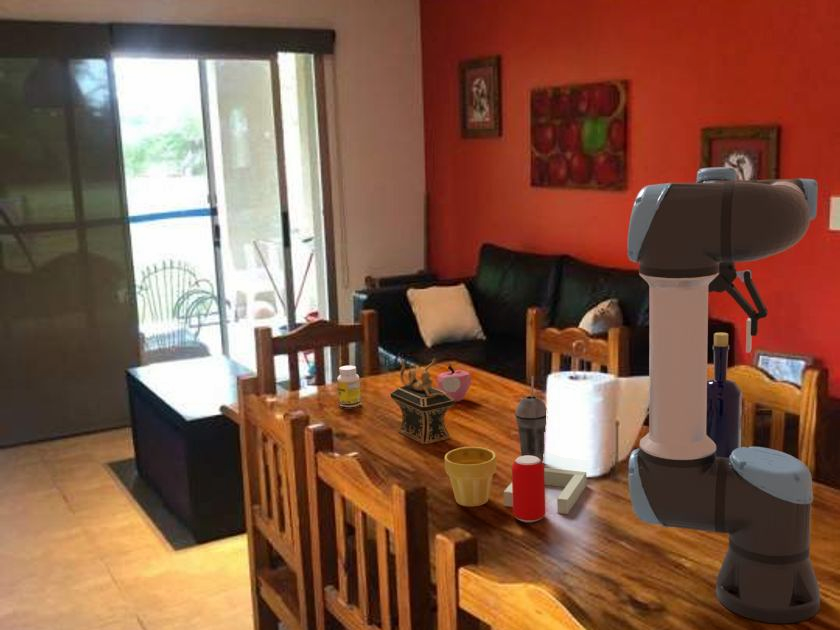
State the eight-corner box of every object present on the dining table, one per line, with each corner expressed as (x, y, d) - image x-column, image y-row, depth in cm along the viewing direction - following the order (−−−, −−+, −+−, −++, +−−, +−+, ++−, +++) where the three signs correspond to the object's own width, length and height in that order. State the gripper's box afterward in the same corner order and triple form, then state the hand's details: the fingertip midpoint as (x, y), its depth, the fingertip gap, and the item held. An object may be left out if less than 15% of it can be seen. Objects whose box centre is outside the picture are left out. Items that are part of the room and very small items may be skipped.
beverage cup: (511, 467, 200) (509, 380, 196) (523, 456, 206) (521, 372, 203) (542, 471, 197) (540, 383, 193) (553, 460, 203) (551, 374, 199)
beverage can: (524, 509, 178) (522, 451, 175) (551, 516, 174) (550, 457, 171) (507, 520, 173) (505, 461, 171) (534, 527, 169) (533, 467, 167)
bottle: (744, 478, 187) (747, 338, 181) (698, 477, 189) (700, 338, 183) (738, 462, 196) (741, 329, 190) (694, 461, 198) (695, 329, 192)
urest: (567, 514, 174) (567, 499, 174) (504, 505, 180) (503, 491, 179) (586, 485, 188) (586, 472, 187) (526, 478, 193) (526, 465, 192)
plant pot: (455, 514, 177) (453, 467, 175) (440, 495, 187) (438, 450, 185) (504, 506, 179) (503, 460, 178) (487, 487, 189) (485, 443, 187)
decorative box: (458, 439, 220) (455, 361, 216) (425, 448, 215) (421, 368, 211) (416, 419, 237) (413, 347, 233) (384, 427, 232) (380, 353, 228)
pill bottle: (335, 404, 254) (333, 366, 251) (356, 401, 256) (353, 363, 254) (343, 410, 248) (340, 371, 246) (364, 406, 251) (361, 368, 248)
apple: (434, 404, 249) (432, 369, 247) (442, 395, 257) (441, 362, 255) (468, 406, 246) (466, 371, 244) (475, 397, 254) (474, 362, 252)
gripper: (784, 244, 177) (780, 348, 181) (656, 242, 188) (655, 341, 192) (780, 248, 170) (777, 357, 175) (648, 247, 182) (647, 349, 186)
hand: (713, 349), depth 183 cm, fingers open, 13 cm apart
